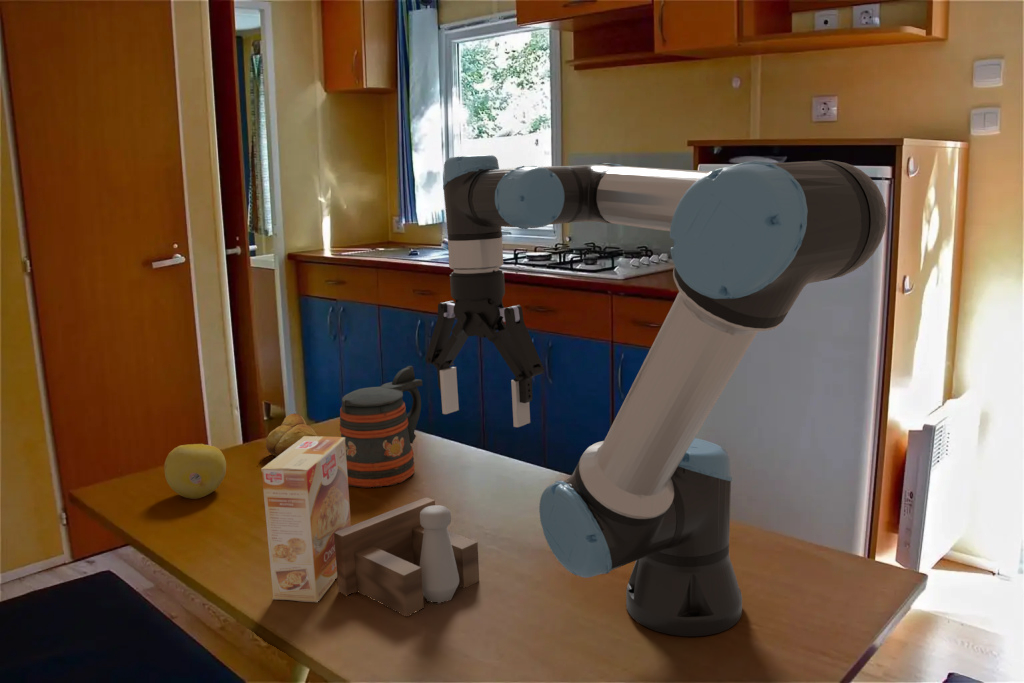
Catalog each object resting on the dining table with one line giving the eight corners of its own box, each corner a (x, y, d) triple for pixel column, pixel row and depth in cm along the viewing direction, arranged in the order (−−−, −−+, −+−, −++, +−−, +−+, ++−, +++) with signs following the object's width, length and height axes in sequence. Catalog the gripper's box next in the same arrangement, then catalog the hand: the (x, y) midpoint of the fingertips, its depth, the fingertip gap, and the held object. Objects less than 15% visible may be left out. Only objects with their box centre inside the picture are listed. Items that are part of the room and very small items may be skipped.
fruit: (235, 495, 164) (230, 444, 162) (175, 509, 158) (169, 456, 156) (219, 480, 173) (214, 431, 171) (161, 493, 167) (155, 442, 165)
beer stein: (393, 452, 186) (387, 359, 182) (445, 464, 177) (440, 367, 173) (323, 479, 171) (315, 378, 167) (376, 494, 162) (369, 389, 158)
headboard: (487, 576, 129) (485, 518, 127) (396, 622, 117) (392, 558, 115) (429, 551, 138) (426, 497, 136) (338, 591, 126) (333, 532, 124)
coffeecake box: (318, 603, 123) (307, 469, 119) (270, 600, 124) (258, 468, 120) (356, 556, 137) (347, 435, 133) (312, 554, 138) (302, 434, 134)
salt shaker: (441, 582, 127) (437, 497, 125) (468, 595, 124) (465, 507, 121) (409, 597, 123) (405, 509, 121) (436, 610, 119) (432, 520, 117)
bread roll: (331, 457, 184) (328, 420, 182) (289, 469, 178) (285, 431, 176) (300, 444, 193) (297, 409, 192) (259, 455, 187) (256, 419, 185)
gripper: (565, 269, 117) (571, 423, 121) (432, 264, 133) (441, 401, 137) (529, 275, 111) (537, 437, 115) (395, 270, 127) (405, 412, 131)
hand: (485, 418), depth 126 cm, fingers open, 13 cm apart
